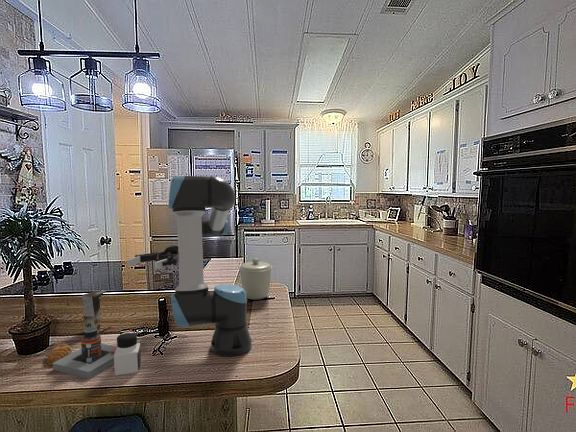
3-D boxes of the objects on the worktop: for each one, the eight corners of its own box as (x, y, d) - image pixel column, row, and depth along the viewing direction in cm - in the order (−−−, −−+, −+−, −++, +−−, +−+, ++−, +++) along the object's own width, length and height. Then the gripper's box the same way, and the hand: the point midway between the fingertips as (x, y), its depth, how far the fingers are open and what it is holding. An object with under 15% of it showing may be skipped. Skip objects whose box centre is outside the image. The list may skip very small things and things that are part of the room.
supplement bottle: (93, 366, 117) (91, 334, 116) (77, 364, 118) (75, 332, 117) (105, 358, 123) (104, 327, 121) (91, 356, 124) (89, 325, 123)
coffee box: (96, 335, 141) (94, 296, 140) (83, 333, 143) (81, 295, 141) (113, 326, 150) (111, 289, 148) (101, 324, 152) (99, 288, 150)
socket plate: (128, 355, 125) (127, 346, 125) (89, 379, 110) (88, 369, 110) (94, 348, 130) (93, 339, 130) (53, 370, 115) (52, 360, 115)
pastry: (64, 364, 119) (63, 354, 119) (41, 367, 117) (40, 357, 117) (73, 351, 128) (72, 342, 128) (52, 354, 126) (51, 344, 126)
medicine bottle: (138, 372, 114) (137, 337, 113) (114, 376, 112) (112, 340, 111) (141, 361, 121) (139, 328, 119) (118, 365, 119) (116, 331, 117)
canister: (272, 302, 179) (272, 262, 177) (237, 302, 179) (236, 262, 177) (273, 291, 197) (273, 254, 195) (241, 291, 197) (240, 254, 195)
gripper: (200, 264, 152) (168, 276, 132) (153, 259, 160) (116, 271, 140) (199, 247, 151) (167, 257, 131) (152, 243, 159) (115, 252, 139)
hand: (141, 264), depth 135 cm, fingers open, 13 cm apart
